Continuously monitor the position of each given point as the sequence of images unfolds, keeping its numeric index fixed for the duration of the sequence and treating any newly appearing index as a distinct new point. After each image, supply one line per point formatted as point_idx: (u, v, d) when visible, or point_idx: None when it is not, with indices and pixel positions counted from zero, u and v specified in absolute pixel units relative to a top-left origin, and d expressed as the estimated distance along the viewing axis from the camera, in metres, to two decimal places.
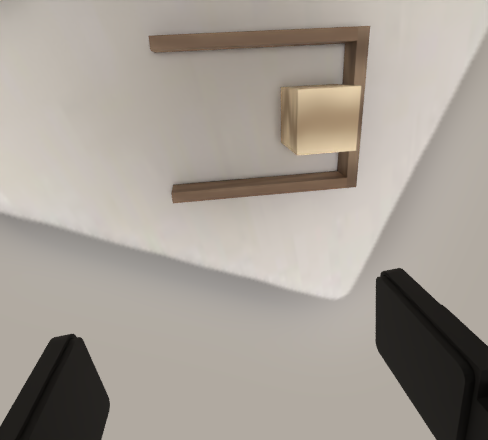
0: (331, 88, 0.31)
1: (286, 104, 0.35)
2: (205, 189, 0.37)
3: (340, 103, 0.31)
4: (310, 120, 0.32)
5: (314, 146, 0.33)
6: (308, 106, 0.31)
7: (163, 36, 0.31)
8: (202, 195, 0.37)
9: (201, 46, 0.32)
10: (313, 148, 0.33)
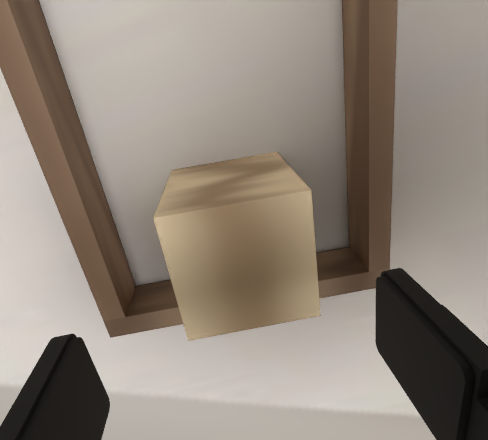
0: (314, 261, 0.14)
1: (254, 168, 0.17)
2: None
3: (284, 286, 0.14)
4: (243, 232, 0.13)
5: (183, 254, 0.13)
6: (275, 221, 0.13)
7: None
8: None
9: None
10: (177, 254, 0.13)
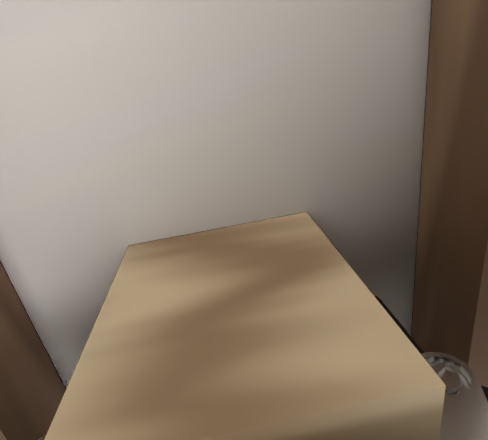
0: None
1: (276, 259, 0.09)
2: None
3: None
4: None
5: None
6: None
7: None
8: None
9: None
10: None
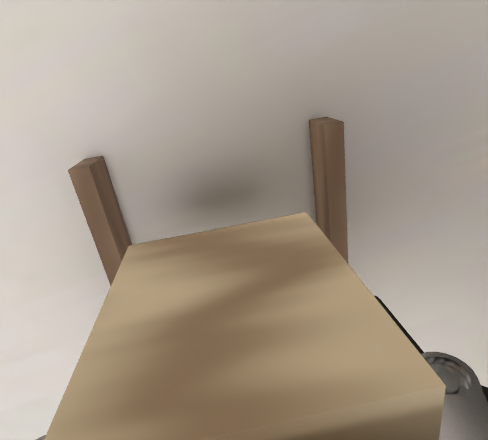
0: None
1: (276, 259, 0.09)
2: (109, 223, 0.21)
3: None
4: None
5: None
6: None
7: (342, 144, 0.21)
8: (97, 220, 0.21)
9: (329, 198, 0.22)
10: None
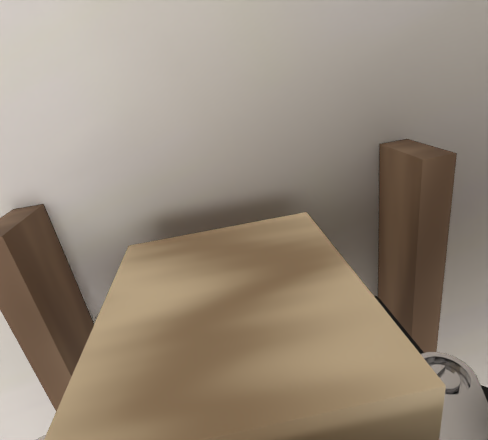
0: None
1: (276, 259, 0.09)
2: (48, 323, 0.12)
3: None
4: None
5: None
6: None
7: (449, 190, 0.12)
8: (26, 320, 0.12)
9: (418, 276, 0.13)
10: None
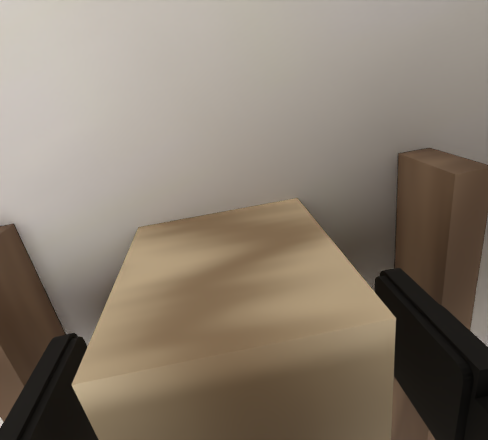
0: None
1: (268, 234, 0.10)
2: (16, 365, 0.11)
3: None
4: (258, 396, 0.07)
5: (139, 439, 0.07)
6: (320, 374, 0.07)
7: (484, 210, 0.10)
8: None
9: (444, 305, 0.12)
10: (128, 439, 0.07)
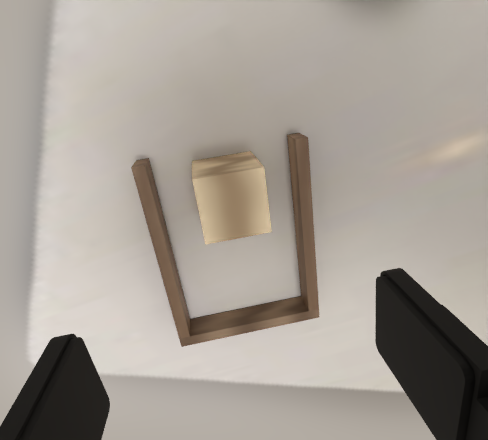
0: (267, 202, 0.29)
1: (238, 159, 0.32)
2: (154, 202, 0.32)
3: (253, 215, 0.29)
4: (233, 187, 0.28)
5: (204, 197, 0.28)
6: (247, 182, 0.28)
7: (307, 151, 0.32)
8: (147, 200, 0.31)
9: (300, 187, 0.33)
10: (202, 197, 0.28)
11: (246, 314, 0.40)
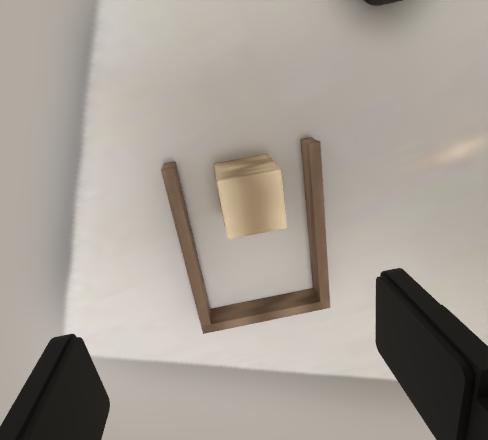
0: (283, 201, 0.32)
1: (256, 162, 0.35)
2: (181, 201, 0.35)
3: (270, 213, 0.32)
4: (253, 187, 0.31)
5: (227, 197, 0.31)
6: (266, 183, 0.31)
7: (319, 154, 0.35)
8: (175, 199, 0.35)
9: (313, 187, 0.36)
10: (225, 197, 0.31)
11: (262, 304, 0.43)
